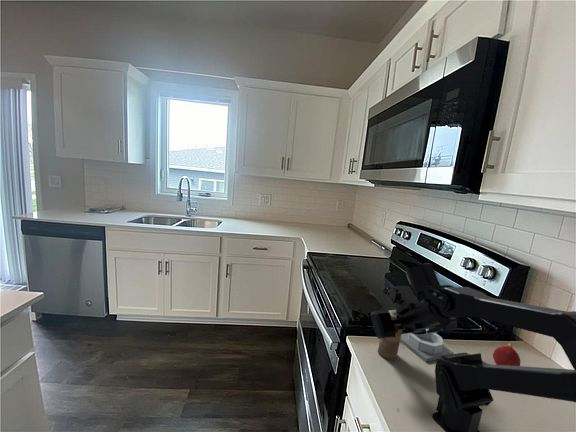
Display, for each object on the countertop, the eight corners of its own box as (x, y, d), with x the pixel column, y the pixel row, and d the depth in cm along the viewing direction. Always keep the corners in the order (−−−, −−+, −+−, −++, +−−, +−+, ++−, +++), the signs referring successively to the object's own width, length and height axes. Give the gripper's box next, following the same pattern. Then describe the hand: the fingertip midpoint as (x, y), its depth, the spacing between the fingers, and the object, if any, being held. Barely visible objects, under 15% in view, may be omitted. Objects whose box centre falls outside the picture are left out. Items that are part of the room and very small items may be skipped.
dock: (453, 355, 79) (455, 344, 79) (425, 362, 75) (428, 350, 75) (421, 333, 89) (424, 323, 89) (396, 337, 85) (398, 327, 84)
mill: (400, 358, 76) (410, 314, 73) (386, 361, 74) (395, 316, 71) (387, 347, 80) (396, 304, 78) (374, 349, 78) (382, 306, 76)
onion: (522, 380, 72) (530, 352, 71) (500, 377, 72) (507, 350, 71) (505, 364, 78) (512, 339, 77) (485, 362, 78) (491, 336, 77)
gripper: (441, 280, 72) (404, 299, 84) (381, 282, 66) (351, 302, 78) (461, 324, 66) (418, 338, 78) (397, 331, 60) (362, 344, 72)
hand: (387, 329), depth 77 cm, fingers open, 6 cm apart
